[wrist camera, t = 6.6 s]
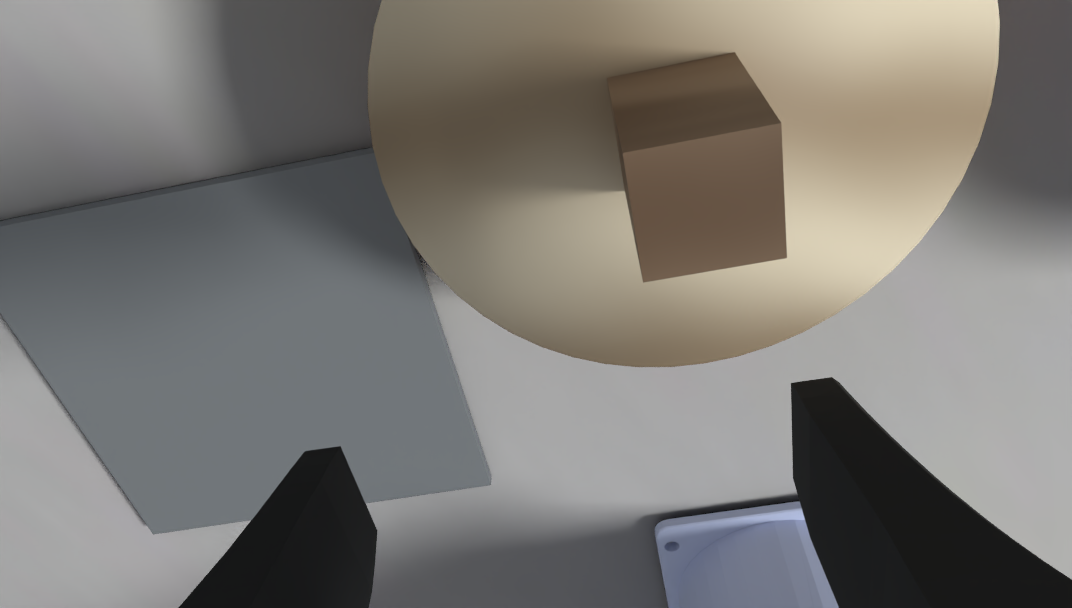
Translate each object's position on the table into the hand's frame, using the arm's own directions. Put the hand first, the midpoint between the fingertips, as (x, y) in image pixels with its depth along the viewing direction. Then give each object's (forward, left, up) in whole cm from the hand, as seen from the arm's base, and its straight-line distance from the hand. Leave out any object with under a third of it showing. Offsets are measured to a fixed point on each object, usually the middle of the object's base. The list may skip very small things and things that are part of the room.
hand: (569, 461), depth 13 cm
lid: (+3, -3, -7) cm, 8 cm away
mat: (-4, +10, -10) cm, 15 cm away
